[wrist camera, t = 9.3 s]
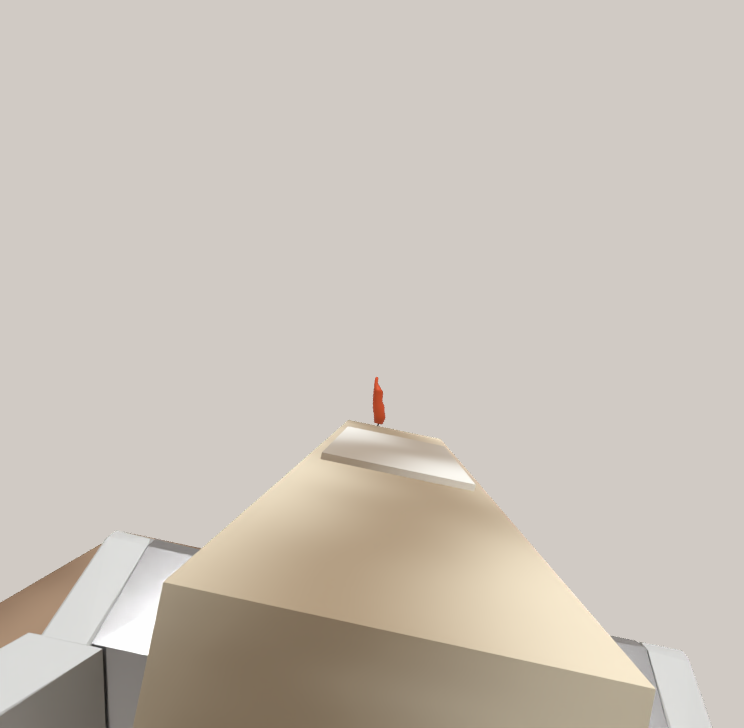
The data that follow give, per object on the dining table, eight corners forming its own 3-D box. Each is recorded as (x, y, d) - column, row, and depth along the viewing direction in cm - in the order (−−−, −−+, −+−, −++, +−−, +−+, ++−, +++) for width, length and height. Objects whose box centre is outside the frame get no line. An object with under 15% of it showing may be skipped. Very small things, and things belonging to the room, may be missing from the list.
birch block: (84, 952, 6) (167, 563, 6) (334, 489, 30) (349, 416, 30) (581, 1070, 5) (660, 670, 5) (426, 508, 29) (441, 435, 29)
